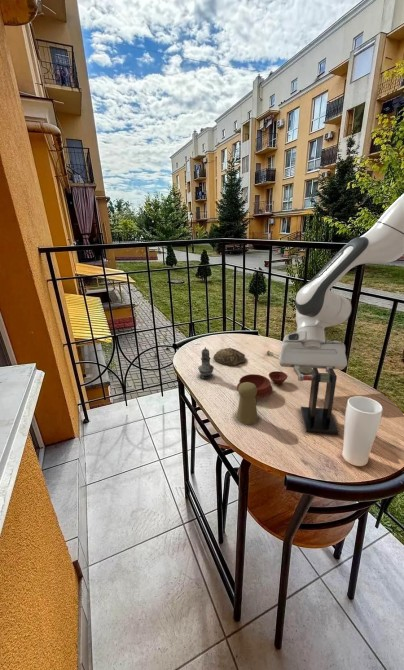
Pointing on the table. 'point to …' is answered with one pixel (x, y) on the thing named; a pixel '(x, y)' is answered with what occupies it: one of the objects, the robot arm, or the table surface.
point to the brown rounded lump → (229, 356)
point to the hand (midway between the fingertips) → (312, 381)
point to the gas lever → (323, 377)
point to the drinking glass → (360, 429)
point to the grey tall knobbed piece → (205, 366)
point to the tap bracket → (320, 417)
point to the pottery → (264, 382)
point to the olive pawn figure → (247, 403)
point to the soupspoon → (303, 370)
